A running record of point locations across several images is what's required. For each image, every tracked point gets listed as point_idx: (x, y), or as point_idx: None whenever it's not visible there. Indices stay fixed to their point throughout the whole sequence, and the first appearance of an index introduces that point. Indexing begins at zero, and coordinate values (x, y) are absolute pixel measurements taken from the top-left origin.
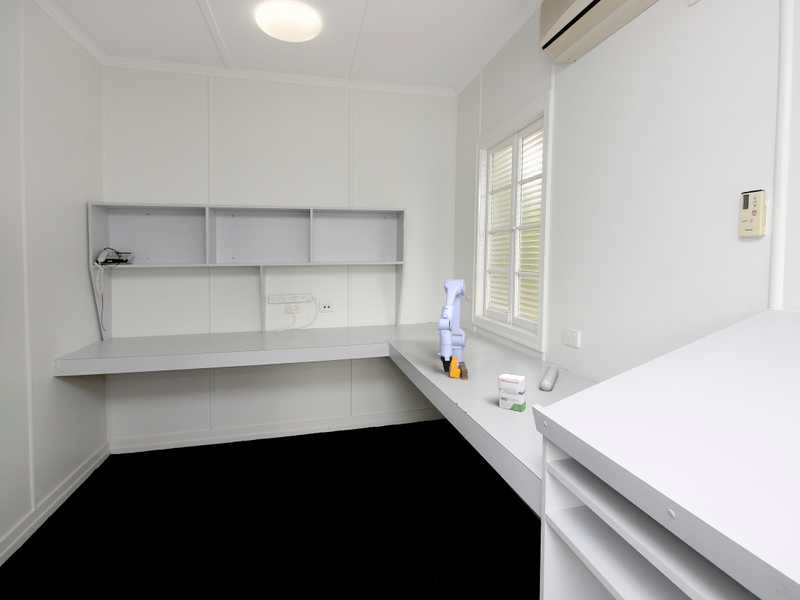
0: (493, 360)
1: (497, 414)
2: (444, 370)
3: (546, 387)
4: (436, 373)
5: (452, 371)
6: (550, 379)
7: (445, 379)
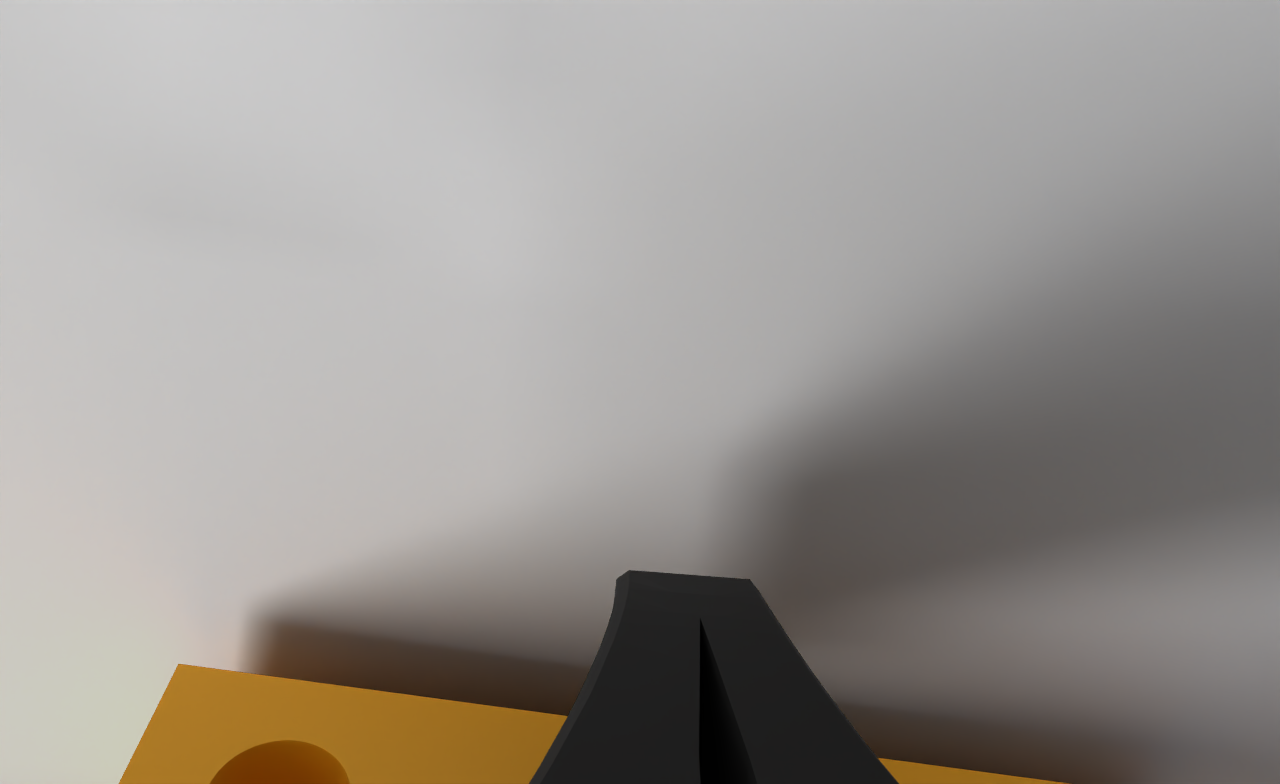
0: None
1: None
2: (611, 624)
3: None
4: (995, 190)
5: None
6: None
7: (6, 442)
